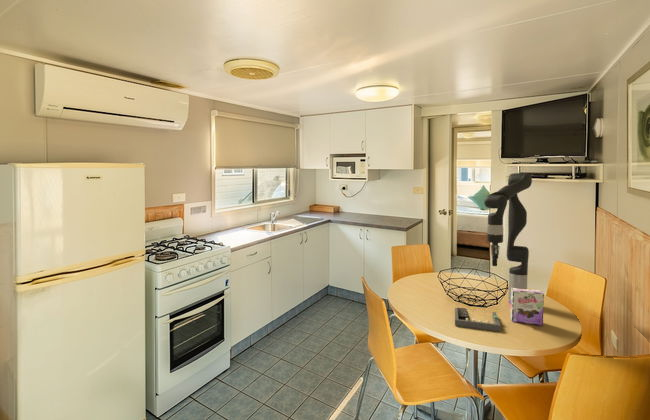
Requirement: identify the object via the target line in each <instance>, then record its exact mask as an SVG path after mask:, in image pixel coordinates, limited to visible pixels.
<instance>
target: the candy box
mask: <svg viewBox="0 0 650 420" xmlns="http://www.w3.org/2000/svg"><path fill="white" fill-rule="evenodd" d="M544 294H545V293H544V292H543V291H542V290H540V289H539V290H536V289H529V288H527V289H517V288H511V303H510V314H509V315H510V316H509V317H510V320H511V322H512V323H521V324H526V325H527V324H529V325H536V326H544V296H545V295H544Z"/></svg>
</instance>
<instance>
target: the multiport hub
mask: <svg viewBox="0 0 650 420" xmlns="http://www.w3.org/2000/svg"><path fill="white" fill-rule="evenodd" d="M457 308H458V319H460V320H466V318H468V319H469V318H470V317H469V314H468V311H467V307H466V308H465V307H457ZM469 320H470V319H469Z"/></svg>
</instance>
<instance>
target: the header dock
mask: <svg viewBox="0 0 650 420" xmlns="http://www.w3.org/2000/svg"><path fill="white" fill-rule="evenodd" d="M458 308H459V307H454V327H460V328H467V329H473V330H474V329H475V330H481V331H490V332H499V333H500V332H501V327H502V326H501V324H500V321H499V315H498V314H497V312H495V311H493V312H492V315H491V316H492V319H493V320H492V321H493V323H492V322H490V320H485V322H483V320H482V319H479V320H478V321H476V319H475V318H472V320H470V319H468V318H466V320H463V319H459V313H458Z"/></svg>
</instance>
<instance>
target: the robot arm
mask: <svg viewBox="0 0 650 420" xmlns="http://www.w3.org/2000/svg"><path fill="white" fill-rule="evenodd" d="M507 178H508V179H507V185H504V186H503V187H501V188H500V189H498V190H497V191H495V192H492V193H489V194H488V195H487V196H486V197H485V198H484V200H483V203H484V206H485V207H486V208H488V209H494V210H495V209H496V211H495V212H492V213H491V212H490V213H488V215H487V228H486V241H487V243H491V245H490V246H489V247H490V254H491V265H492V266H493V267H497V266H498V259H499V255H500V246H499V244H502V243H503V242H504V216H505V215H504V214H505V212H506V209H507V205H508V213H507V214H508V215H507V216H508V217H507V219H508V221H507V223H508V225H507V227H508V229H507V231H508V232H507V233H508V234H507V246H506V258H507V261H508V262H515V263H521V264H519V265H516V266H511V267H509V270H508V274H509V275H508V303H509V304H511V288H517V289H528V271H529V270H528V269H529V267H528V266H529V256H530V255H529V254H530V253H529V251H530V250H529V248H528V247H527V246H521V245H515V241H516V239H518V238H517V237H518V236H519V234H520V233H521V232H522V231H523V230H524V228H525V227H526V225H527V220H528V219H527V218H528V217H527V216H528V213H527V209H526V208H525V206H524V205H523V203H522V201H520V198H519V196H518V194H519V193H521V192H523V191H525V190H527V189H529V188H530V187H531V186H532V183H533V178H532V176H531V174H530V173H528V172H515V173H513V172H512V173H511V174H509V176H508V177H507Z"/></svg>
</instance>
